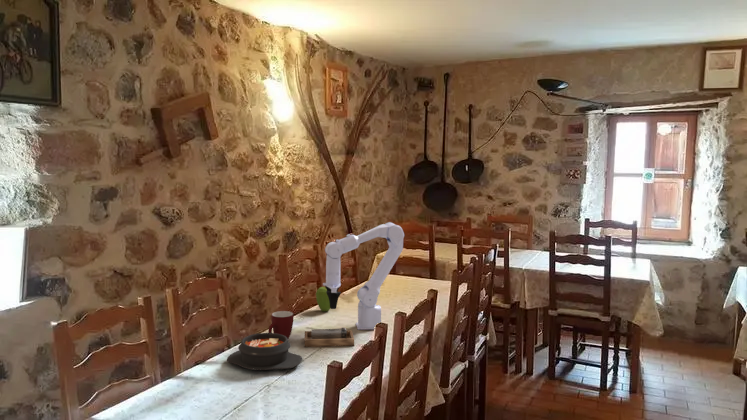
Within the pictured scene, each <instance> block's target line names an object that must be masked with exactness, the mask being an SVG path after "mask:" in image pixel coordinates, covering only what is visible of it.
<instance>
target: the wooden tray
mask: <svg viewBox="0 0 747 420" xmlns="http://www.w3.org/2000/svg"><path fill="white" fill-rule="evenodd" d="M346 330H347V329H346ZM324 347H325V348H326V347H327V348H329V347H332V348H333V347H355V337H354V333H353V330H351V329H350V330H347V337H346V338H343V339H311V330H306V331H305V330H304V348H324Z"/></svg>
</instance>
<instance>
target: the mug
mask: <svg viewBox="0 0 747 420" xmlns="http://www.w3.org/2000/svg"><path fill="white" fill-rule="evenodd" d="M293 325H294V312H292V311H288V310H280V311H279V310H278V311H274V312H272V313H271V324H270V325H269V327H268V332H267V333H277V334H281V335H284V336H286V337H287V339H288V340H289V338H291V335H292V332H293Z"/></svg>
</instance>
